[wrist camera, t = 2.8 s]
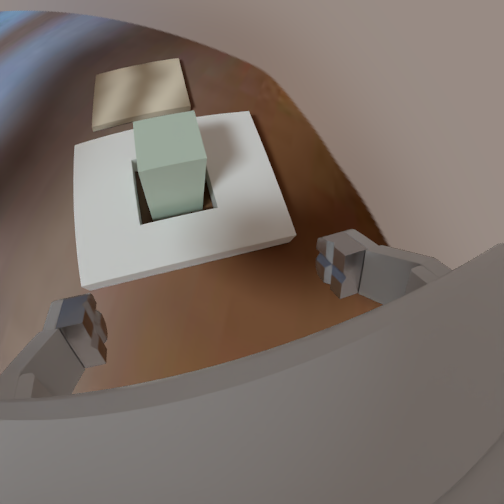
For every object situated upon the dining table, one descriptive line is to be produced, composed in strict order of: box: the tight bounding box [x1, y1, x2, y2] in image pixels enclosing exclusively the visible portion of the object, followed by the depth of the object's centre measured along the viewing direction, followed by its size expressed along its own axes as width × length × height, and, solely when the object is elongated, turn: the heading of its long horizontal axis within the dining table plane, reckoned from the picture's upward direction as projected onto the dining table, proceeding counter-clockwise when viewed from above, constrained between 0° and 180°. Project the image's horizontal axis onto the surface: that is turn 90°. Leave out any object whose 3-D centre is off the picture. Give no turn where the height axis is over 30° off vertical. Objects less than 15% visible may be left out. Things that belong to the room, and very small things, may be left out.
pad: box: [92, 58, 191, 132], centre depth 27 cm, size 11×10×1 cm
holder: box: [74, 111, 296, 291], centre depth 24 cm, size 18×14×2 cm
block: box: [133, 111, 207, 221], centre depth 21 cm, size 4×4×8 cm
